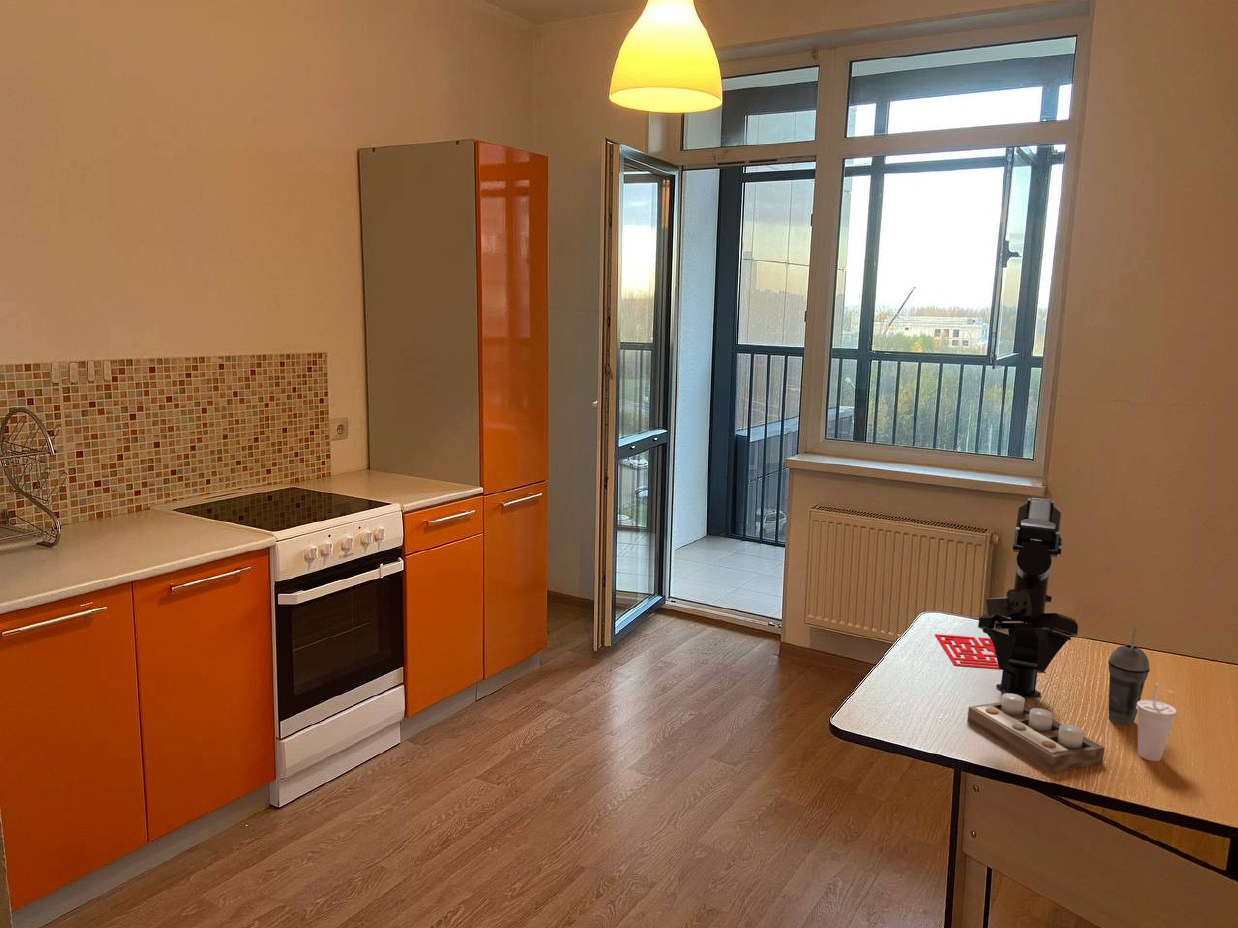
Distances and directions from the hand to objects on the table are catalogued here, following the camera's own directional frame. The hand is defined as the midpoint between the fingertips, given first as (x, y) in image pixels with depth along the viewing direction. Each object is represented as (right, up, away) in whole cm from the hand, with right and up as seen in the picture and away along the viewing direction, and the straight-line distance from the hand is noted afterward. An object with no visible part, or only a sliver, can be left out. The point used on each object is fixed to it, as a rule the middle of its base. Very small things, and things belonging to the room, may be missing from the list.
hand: (1020, 670), depth 167 cm
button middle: (+6, -12, +5) cm, 14 cm away
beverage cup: (+27, -14, +16) cm, 34 cm away
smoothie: (+24, -16, +1) cm, 29 cm away
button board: (+4, -14, +5) cm, 16 cm away
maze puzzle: (+14, -8, +50) cm, 52 cm away
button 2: (+8, -13, -1) cm, 16 cm away
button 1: (+3, -11, +12) cm, 16 cm away
